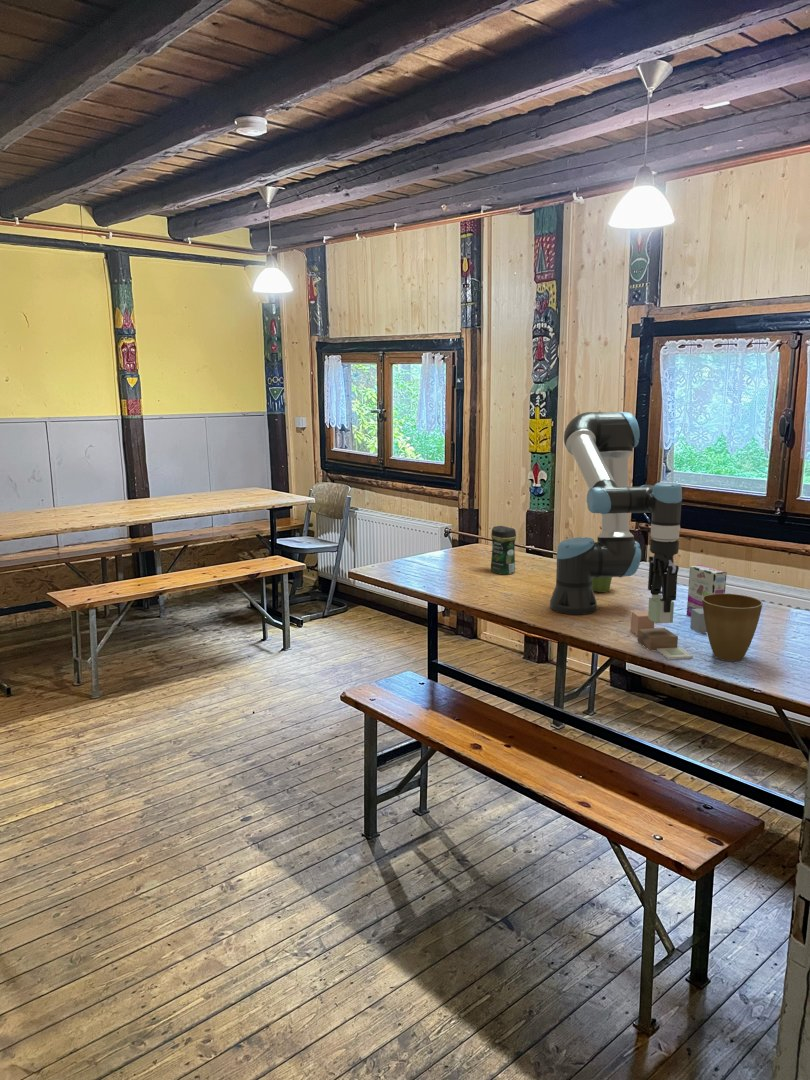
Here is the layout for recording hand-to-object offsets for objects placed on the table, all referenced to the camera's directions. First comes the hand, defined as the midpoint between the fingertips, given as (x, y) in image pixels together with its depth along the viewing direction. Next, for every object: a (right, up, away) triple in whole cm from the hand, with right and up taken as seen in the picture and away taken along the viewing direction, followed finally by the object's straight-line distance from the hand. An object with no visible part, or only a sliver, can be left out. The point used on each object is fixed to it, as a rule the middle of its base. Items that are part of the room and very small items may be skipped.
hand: (660, 619), depth 213 cm
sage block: (0, 0, 0) cm, 0 cm away
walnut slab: (0, -8, +2) cm, 8 cm away
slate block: (+18, -5, +15) cm, 23 cm away
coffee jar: (-33, +9, +87) cm, 93 cm away
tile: (+2, -9, -6) cm, 11 cm away
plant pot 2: (+16, -9, -8) cm, 20 cm away
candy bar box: (+22, -3, +25) cm, 34 cm away
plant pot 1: (-2, +4, +60) cm, 60 cm away
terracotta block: (-1, -5, +12) cm, 14 cm away
